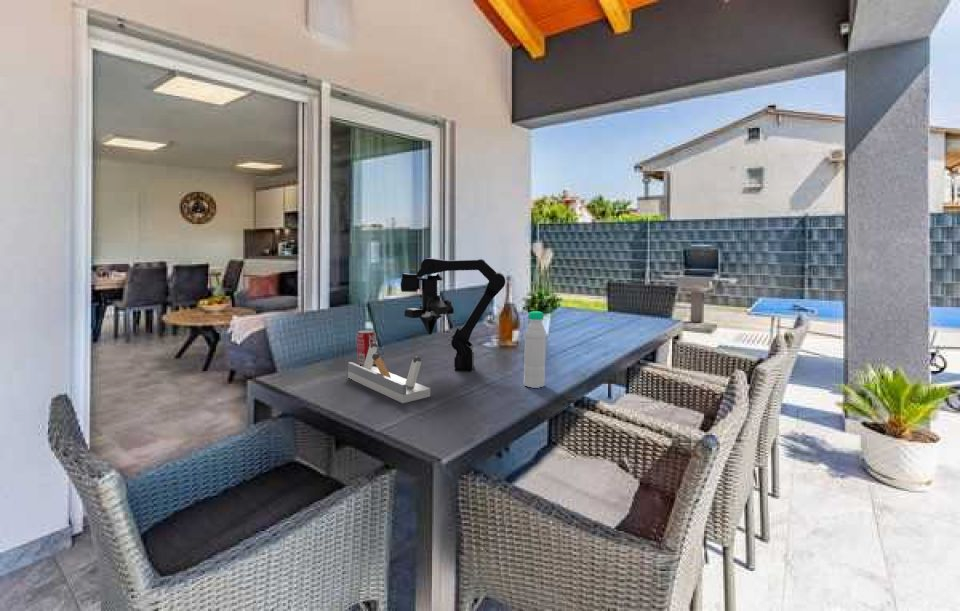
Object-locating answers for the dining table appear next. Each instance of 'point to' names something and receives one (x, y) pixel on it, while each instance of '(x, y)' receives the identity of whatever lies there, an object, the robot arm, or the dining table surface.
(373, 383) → the switch panel
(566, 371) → the dining table surface
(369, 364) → the cream lever
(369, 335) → the soda can
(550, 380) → the dining table surface
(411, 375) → the cream lever
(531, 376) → the water bottle
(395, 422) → the dining table surface
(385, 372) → the lever orange
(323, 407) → the dining table surface
